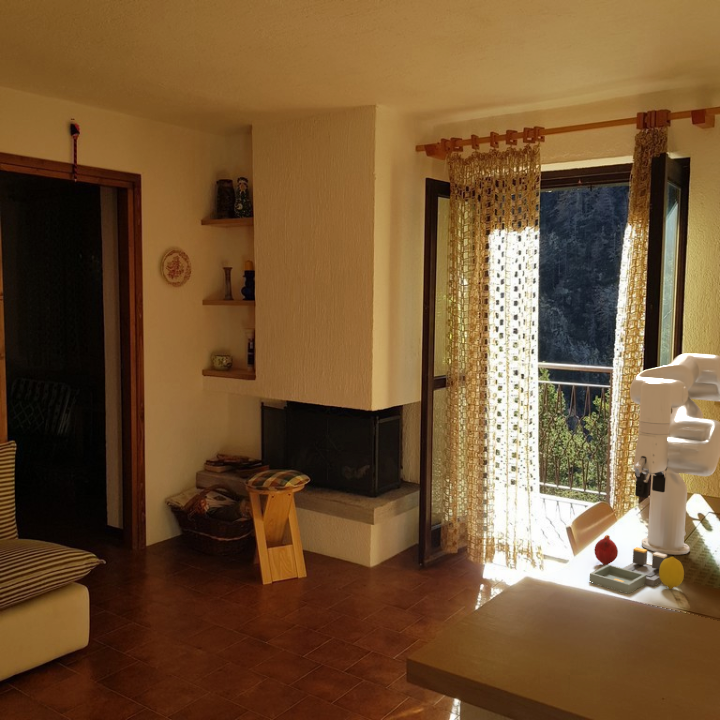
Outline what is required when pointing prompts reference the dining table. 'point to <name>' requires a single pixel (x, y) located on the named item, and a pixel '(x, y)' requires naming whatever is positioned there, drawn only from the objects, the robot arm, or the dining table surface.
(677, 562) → the lemon
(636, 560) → the block
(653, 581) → the breaker panel
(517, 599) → the dining table surface
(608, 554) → the onion
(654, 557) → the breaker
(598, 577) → the tray
